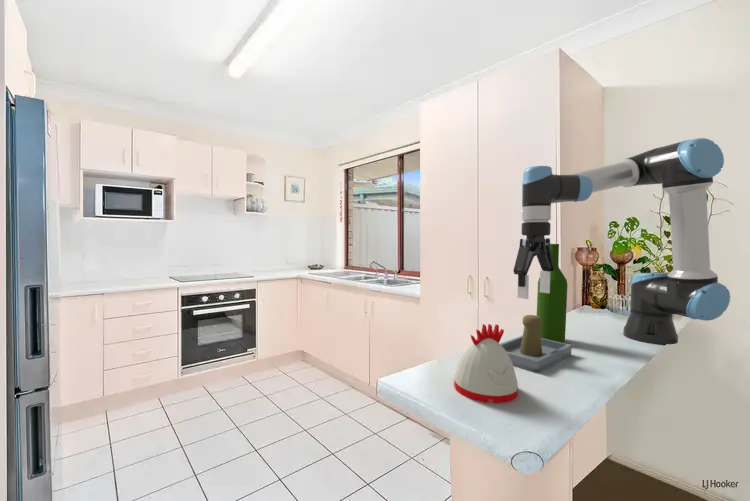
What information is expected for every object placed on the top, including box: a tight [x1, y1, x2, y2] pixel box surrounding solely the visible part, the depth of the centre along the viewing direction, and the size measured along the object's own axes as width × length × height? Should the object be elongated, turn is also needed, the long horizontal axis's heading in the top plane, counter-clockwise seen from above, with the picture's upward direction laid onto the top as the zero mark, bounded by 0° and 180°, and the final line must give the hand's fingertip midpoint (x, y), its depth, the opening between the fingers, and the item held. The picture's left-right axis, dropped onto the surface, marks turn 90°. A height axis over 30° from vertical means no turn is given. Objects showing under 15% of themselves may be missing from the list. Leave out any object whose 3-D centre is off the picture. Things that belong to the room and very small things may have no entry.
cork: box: [520, 314, 542, 357], centre depth 104 cm, size 6×6×11 cm
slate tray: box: [499, 334, 573, 374], centre depth 104 cm, size 22×14×3 cm, turn 131°
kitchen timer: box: [453, 323, 519, 404], centre depth 81 cm, size 14×14×15 cm
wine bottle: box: [536, 243, 568, 343], centre depth 120 cm, size 9×9×32 cm
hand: (534, 295), depth 103 cm, fingers open, 13 cm apart
